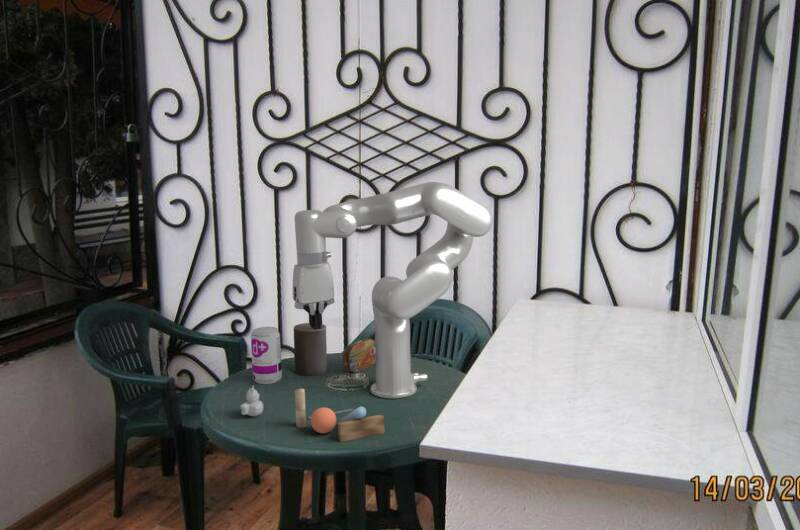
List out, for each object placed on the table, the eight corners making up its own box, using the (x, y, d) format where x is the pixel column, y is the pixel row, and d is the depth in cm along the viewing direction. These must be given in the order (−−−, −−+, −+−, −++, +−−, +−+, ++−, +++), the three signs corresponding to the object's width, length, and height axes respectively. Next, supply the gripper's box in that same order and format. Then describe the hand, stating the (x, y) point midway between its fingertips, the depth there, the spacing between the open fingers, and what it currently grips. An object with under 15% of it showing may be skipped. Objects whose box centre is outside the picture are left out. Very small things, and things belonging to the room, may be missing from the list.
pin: (348, 417, 175) (365, 406, 168) (349, 427, 174) (366, 416, 167) (339, 417, 173) (356, 406, 167) (340, 427, 172) (357, 416, 166)
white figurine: (269, 414, 182) (267, 384, 181) (248, 422, 177) (246, 391, 176) (255, 409, 186) (253, 380, 184) (234, 417, 181) (232, 387, 179)
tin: (350, 376, 211) (349, 348, 209) (341, 374, 212) (340, 346, 211) (379, 362, 223) (378, 336, 222) (371, 360, 225) (370, 334, 223)
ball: (344, 419, 172) (330, 399, 171) (336, 431, 166) (322, 410, 166) (324, 429, 174) (311, 409, 173) (316, 441, 168) (302, 420, 168)
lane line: (352, 409, 185) (352, 408, 185) (353, 410, 184) (353, 409, 184) (307, 417, 180) (307, 417, 179) (309, 419, 179) (308, 418, 179)
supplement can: (268, 386, 203) (266, 335, 200) (247, 381, 207) (244, 331, 205) (287, 378, 210) (285, 328, 207) (266, 373, 214) (263, 324, 211)
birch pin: (304, 423, 176) (302, 387, 175) (307, 426, 174) (305, 390, 173) (294, 424, 175) (293, 389, 174) (298, 428, 173) (296, 392, 172)
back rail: (381, 430, 171) (381, 414, 170) (384, 432, 169) (384, 416, 169) (338, 439, 166) (337, 423, 165) (340, 442, 165) (340, 425, 164)
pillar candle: (295, 377, 210) (294, 327, 208) (293, 366, 220) (292, 319, 217) (329, 374, 212) (328, 325, 210) (325, 364, 222) (324, 317, 219)
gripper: (332, 253, 191) (336, 320, 194) (279, 260, 184) (283, 329, 187) (344, 257, 184) (348, 326, 188) (289, 264, 177) (294, 336, 181)
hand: (316, 328), depth 187 cm, fingers closed
